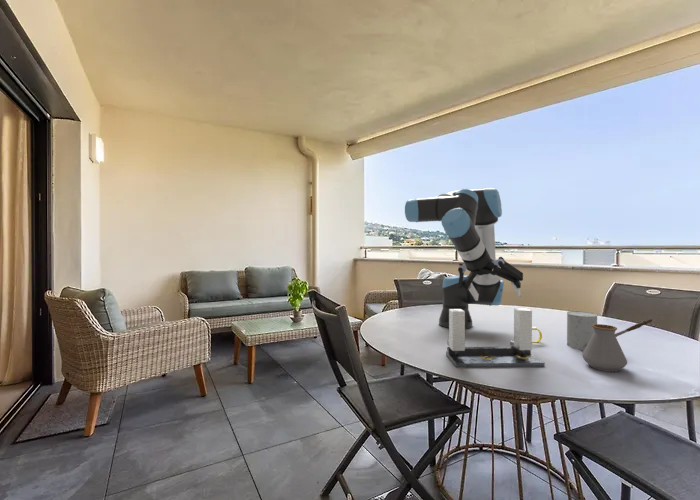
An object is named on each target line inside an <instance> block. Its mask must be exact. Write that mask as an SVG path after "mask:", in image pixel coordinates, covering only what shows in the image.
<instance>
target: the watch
mask: <svg viewBox="0 0 700 500" xmlns="http://www.w3.org/2000/svg"><path fill="white" fill-rule="evenodd" d="M536 330H537V332H539V333H538V334H539V336H538V339H536V340H532V344H534V343H537V344H538V343H540V342H541V341H542V338H543V334H542V332H541V330H540V329H538V327H537V326H532V331H536Z"/></svg>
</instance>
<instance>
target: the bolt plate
mask: <svg viewBox="0 0 700 500" xmlns="http://www.w3.org/2000/svg"><path fill="white" fill-rule="evenodd" d="M446 349H447V350H446V351H445V355H446V357H447V358H448V359H449V360H450V361H451V363H452V364H453V365H454V366H455V367H456V368H509V367H510V368H512V367H515V368H520V367H521V368H523V367H526V368H527V367H530V368H531V367H545V366H546V365H545V362H544V361H543V360H541V359H539V357H537V356H535V355H533V354H531V353H532V350H525V355H521V350H517V349H515V348H514V347H512V346H511V345H509V346H508V345H507V346H465V351H459V356H455V351H452V350H451V348H450V347H449V346H447V347H446Z"/></svg>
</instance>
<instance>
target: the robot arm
mask: <svg viewBox="0 0 700 500" xmlns="http://www.w3.org/2000/svg"><path fill="white" fill-rule="evenodd" d="M502 208H503V207H502V202H501V196H500V192H499V191H498V189H497V188H494V187H489V188H488V187H487V188H486V187H484V188H483V187H482V188H472V189H470V188H462V189H459V190H454V191H450V192H446V193H445V192H444V193H441V194H439V195H437V196H433V197H423V198H411V199H408V200H407V201H406V202H405V204H404V215H405V219H406V220H407V221H408V222H410V223H421V222H422V223H425V222H441V225H442V227H443V230H444V232H445V234H446V235H447V236H448V238H449V240H450V242H451V243H452V245H453V246H454V248H455V250H456V251H457V253H458V254H459V256H460V258H461V260H462V261H463V263H464V264H463V263H458V269H457V271H458V274H459V275H453V276H446V277H445V278H443V281H442V310H441V312H440V315H439V318H438V325H439V326H441V327H444V328H448V329H449V309H462V310H463V311H465V329H469V328H473V319H472V316H471V313H470V310H469V305H480V306H489V307H491V306H500V305H501V304H502V300H503V299H502V298H503V292H504V291H503V290H504V283H505V280H506V281H509V282H511V283H510V284H511V286H512V288H513V290H514V292H515V294H516V296H517V297H518V298H520V297H521V291H522V290H521V286H522V284H521V282H522V281H523V280H524V273H523V272H522V271H521V270H520V269H518V268H516V267H514V266H513V265H512V264H510V263H509V262H507V261H506V260H505V259H504V257H503V256H499V257H498V259H496V258H497V257H496V241H495V239H496V236H495V235H496V234H495V224H497V222H499V218H500V217H502V214H503V210H502ZM466 270H467V271H469V274H466V275H465V272H466ZM501 278H502V279H501ZM503 279H504V280H503Z"/></svg>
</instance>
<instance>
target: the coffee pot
mask: <svg viewBox="0 0 700 500" xmlns="http://www.w3.org/2000/svg"><path fill="white" fill-rule="evenodd" d="M652 322H654V324H653V323H652ZM648 324H650V325H652V326H656V325H657V323H656V322H655V320H653V319H651V318H650V319H647V320H644V321H642V322H639V323H636V324H634V325H632V326H630V327H628V328H626V329H624V330H621V331H619V332H616V331H617V330H618V327H616V326H613V325H608V324H598V323H597V324H594V325H592V327H593V328H594V331H595V332H594V334H593V336H592V338H591V339H590V341H589V343H588V345H587V347H586V348H585V350H583V351H582V358H583V360H584V362H585V363H586V364H588V366H590V367H591V368H593V369H595V370H599V371H604V372H610V371H612V372H613V373H614V371H615V372H619V371H620V370H621V369H624V368H625V367H626V366H627V365H628V359H627V357H626V356H625V353H624V351H623V350H622V347H621V345H620V343H619V341H618V339H617V337H619V336H622V335H623V334H626V333H629V332H631V331H634V330H636V329H640V328H642V327H644V326H647V325H648ZM612 372H611V373H612Z"/></svg>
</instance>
